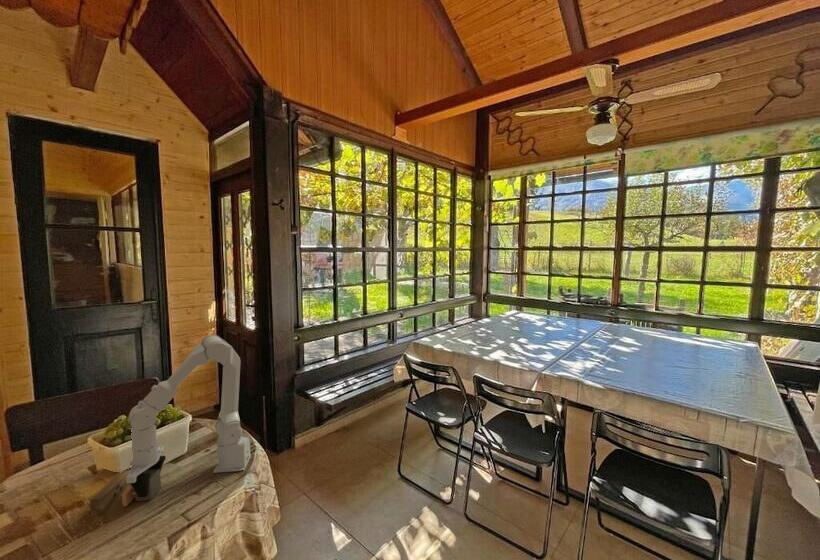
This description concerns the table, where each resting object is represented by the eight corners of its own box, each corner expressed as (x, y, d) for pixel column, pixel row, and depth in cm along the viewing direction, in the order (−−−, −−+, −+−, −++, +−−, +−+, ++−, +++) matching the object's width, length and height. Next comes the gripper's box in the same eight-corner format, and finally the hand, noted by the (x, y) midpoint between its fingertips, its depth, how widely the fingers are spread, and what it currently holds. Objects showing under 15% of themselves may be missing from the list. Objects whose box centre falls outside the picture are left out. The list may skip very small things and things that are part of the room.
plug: (161, 487, 105) (159, 468, 105) (151, 499, 100) (149, 480, 100) (141, 489, 105) (139, 470, 104) (130, 501, 100) (128, 481, 99)
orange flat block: (144, 486, 106) (143, 475, 106) (126, 506, 98) (125, 494, 98) (140, 486, 106) (139, 475, 106) (122, 506, 98) (121, 494, 98)
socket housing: (132, 483, 108) (131, 469, 107) (104, 513, 96) (102, 498, 95) (121, 484, 107) (120, 470, 107) (91, 514, 95) (89, 499, 95)
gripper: (145, 433, 108) (148, 474, 109) (111, 462, 93) (116, 509, 95) (170, 431, 108) (173, 472, 110) (140, 460, 94) (144, 507, 96)
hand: (148, 489), depth 102 cm, fingers closed on plug, 5 cm apart
